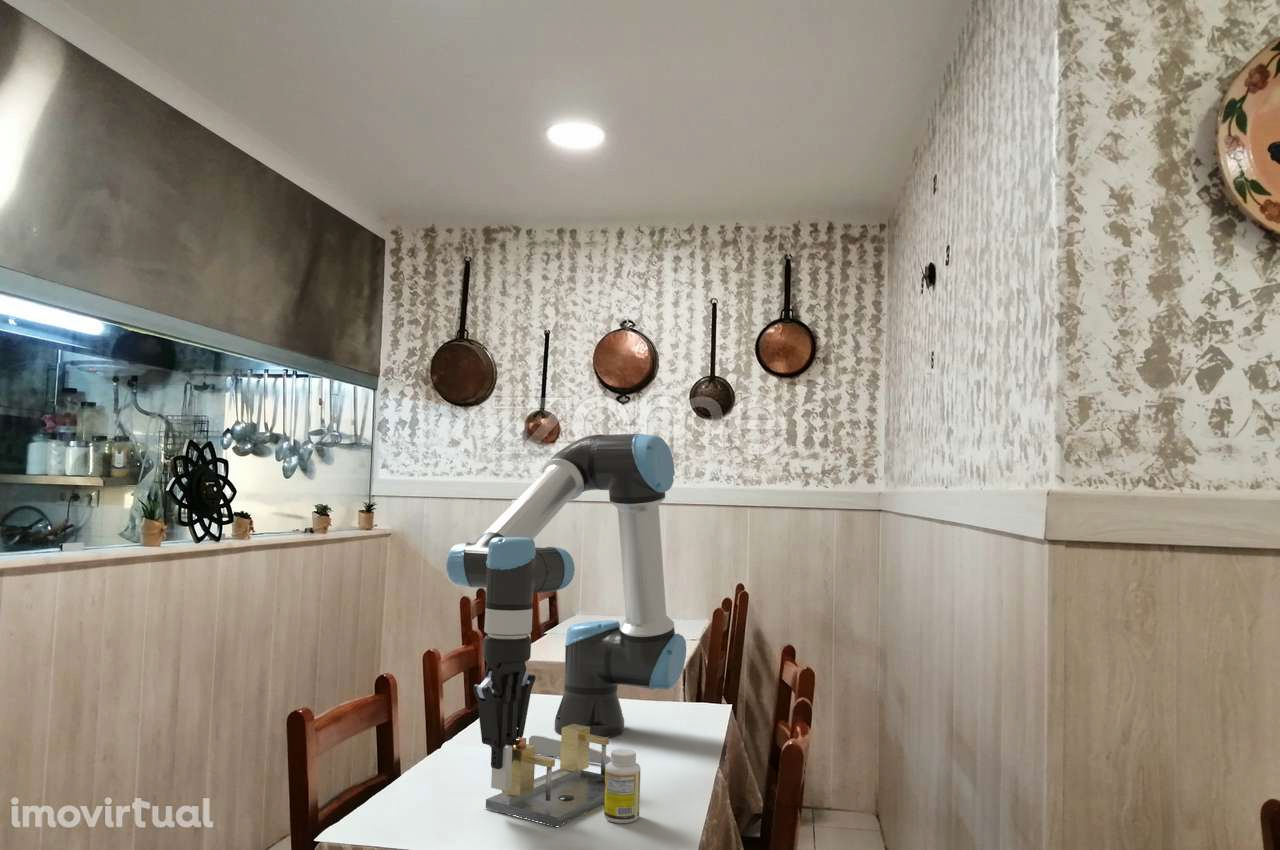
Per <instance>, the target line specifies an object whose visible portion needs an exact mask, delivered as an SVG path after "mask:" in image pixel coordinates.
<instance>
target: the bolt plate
mask: <svg viewBox="0 0 1280 850" xmlns="http://www.w3.org/2000/svg"><path fill="white" fill-rule="evenodd" d="M546 776H547V773H546V774H544V775H542V776H538V777H537V778H534V791H532V792H529V793H527V794H525V795H522V796H520V797H519V796H515V795H511V794H507V793H503V792H502V791H501V793H500V792H499V793H498V794H495V795H493V796H490V797H488V798H486V799H485V809H486V808H487V809H490V810H489V811H491V810H493V811H492V812H495V811H497V812H496V813H499V812H501V813H500V814H503V813H506V814H510V815H516V816H519V817H522V818H527V819H530V820H534V821H538V822H542V823H545V824H549V825H552V826H559V825H561V824H563V823H565V822H567V821H569V820H571V821H573V820H575V819H576V817H577V818H579V817H580V815H581V816H583V815H584V813H585V814H587V813H589V812H590V810H591V811H592V809H593V810H594V808H595V809H597V808H598V807H600V806H602V805H605V775H604V776H602V775H601V773H598V772H594V771H588V770H585V769H584V770H582V771H579V772H573V771H568V770H564V769H560V768H558V769H556V770H552V778H551V800H550V801H546ZM487 809H486V810H487ZM588 811H589V812H588ZM586 812H587V813H586ZM506 814H505V815H506ZM582 814H583V815H582ZM510 815H509V816H510ZM578 816H579V817H578ZM522 818H521V819H522ZM574 818H575V819H574ZM572 819H573V820H572ZM569 822H570V821H569ZM567 823H568V822H567ZM545 824H544V825H545ZM565 824H566V823H565ZM563 825H564V824H563ZM552 826H551V827H552ZM561 826H562V825H561ZM559 827H560V826H559Z"/></svg>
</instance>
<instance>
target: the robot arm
mask: <svg viewBox="0 0 1280 850" xmlns="http://www.w3.org/2000/svg"><path fill="white" fill-rule="evenodd" d="M674 477H675V462H674V457H673V453H672V451H671V449H670V446H669V445H668V443H666V441H665V440H664V439H663V437H661V436H658V435H655V434H643V433H628V434H627V433H625V434H624V433H623V434H622V433H619V434H592V435H587V436H585V437H582V438H580V439H577V440H575V441H573V442H571V443H570V444H568V445H567V446H565V447H563V448H562V449H560V451H557V453H555V454H553V456H552V457H551V458H549V460H547V462H545V464H544V465H543V467H542V470H541V475H540V476H539V477H538V478H537V479H536V480H535V481H534V482H533V483H532V484H530V486H529V487H528V488H527V489H525V491H524V492H523V493H522V494H521V495H520V496H519V497H518V498H516V500H515V501H514V502H513V503H512V504H511V505H510V506H509V507H508V508H507V509H506V510H505V511H504V512H503V513H502V514H501V515H500V516H499V517H498V518H497V519H496V520H495V521H494V522H493V523H492V524H491V525H490V526H489V527H488V528H487V530H485V531H484V532H483V533H482V534H481V536H479V537H478V539H477V540H476V541H475V542H473V543H472V542H470V541H466V542H463V543H462V542H460V543H456V544H455V545H453V546H452V547H451V549H449V552H448V554H447V558H446V562H445V563H446V564H445V565H446V566H445V567H446V573H447V576H448V578H449V580H450V581H451V582H452V583H453V584H456V585H458V586H465V587H469V588H483V589H485V593H486V594H485V609H484V610H485V614H484V628H483V629H484V630H483V631H484V633H486V635H485V636H484V638H483V642H482V644H483V645H482V658H483V660H484V661H485V662H486V664H487V665H486V669H485V672H484V680H483V681H481V683H480V684H477V683H476V684H474V685H473V687H472V691H473V693H474V695H475V698H476V701H477V703H476V704H477V710H478V719H479V728H480V735H481V736H480V737H481V743H482V744H483V745H487V746H489V747H490V746H491V747H490V749H491V750H490V754H491V755H490V767H491V783H490V788H491V789H495V790H499V791H502V790H503V791H506V790H508V789H511V768H512V762H513V748H514V745H519V743H520V740H516V739H518V738H523V736H524V733H525V728H526V724H527V723H526V721H527V716H528V710H529V706H530V700H531V694H532V689H533V686H534V684H535V682H536V675H534V674H530V673H528V672H527V665H526V662H527V661H530V659H531V655H532V654H531V649H532V638H531V637H530V636H529V635H530V634H531V633H532V632H533V600H534V595H535V594H541V593H555V592H557V591H560V590H563V589H565V588H566V587H568V586H569V585H570V584H571V582H572V581H573V579H574V576H575V571H576V570H575V562H574V559H573V557H572V556H571V554H570V553H569V552H568V551H567V550H565V549H564V548H562V547H556V546H545V547H536V544H535V539H536V537H537V536H538V535H539V534H540V533H541V531H542V530H543V529H544V528H545V527H546V526H547V525H548V524H549V523H550V522H551V521H552V520H553V518H555V516H556V515H557V514H558V513H559V512H560V511H561V510H562V508H563V507H564V506H565V505H566V504H567V503H568V502H569V501H572V500H573V501H574V500H575V499H577V498H579V497H581V495H582V494H583V493H584V492H588V491H594V490H595V491H597V490H598V491H608V493H609V503H611V505H613V506H614V507H615V508H616V509H617V515H618V531H619V544H620V556H621V557H620V558H621V571H622V583H623V596H624V597H623V598H624V599H623V600H624V611H625V612H624V613H625V619H623V621H622V622H621V623H620V622H619V621H618V620H595V621H586V622H580V623H576V624H575V623H574V624H572V625H570V626H569V627H568V628H567V631H566V637H565V644H564V648H565V651H564V652H565V653H564V656H565V657H564V681H563V682H564V687H563V695H562V697H561V701H560V704H559V707H558V710H557V711H556V715H555V717H554V731H555V732H556V733H558V734H560V735H561V732H562V728H563V727H566V726H568V725H571V724H577V725H582V726H588V727H590V734H591V735H596V736H602V737H607V738H611V737H612V738H613V737H617V736H619V735H621V734H623V733H624V732H625V718H624V714H623V710H622V707H621V703H620V699H619V696H618V686H619V685H621V686H627V687H635V688H643V689H649V690H650V691H651V690H652V691H654V690H661V691H662V690H663V691H668V690H671V689H672V688H673V687H675V685H677V684H678V682H679V680H680V678H681V676H682V673H683V670H684V667H685V663H686V659H687V658H686V657H687V641H686V639H685V637H684V635H682V634H680V633H676V631H675V630H676V629H675V622H674V621H673V620H672V619H671V617H669V616H668V615H667V605H666V593H665V592H666V590H665V589H666V588H665V575H664V563H663V548H662V546H663V545H662V535H661V533H662V531H661V519H660V505H661V503H663V501H664V500H665V499H666V492H668V491H669V490H670V489H672V486H673V484H674V480H675V479H674Z"/></svg>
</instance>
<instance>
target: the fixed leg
mask: <svg viewBox="0 0 1280 850" xmlns="http://www.w3.org/2000/svg"><path fill="white" fill-rule="evenodd" d="M560 735H561V736H560V737H561V739H560V740H561V758H560V759H559V760H560V761H559V762H560V764H559V766H560V767H559V769H564V770H568V771H573V772H579V771H582V770H584V771H585V770H586V769H588V768H589V763H590V762H589V748H590V743H591V744H596V745H601V751H600V752H601V764H600V774H601V775H602V776H604V775H605V769H606V755H607V745H609V743H610V737H602V736H596V735H591V734H590V727H588V726H582V725H577V724H571V725H568V726H566V727H563V728H562V732H561V734H560Z"/></svg>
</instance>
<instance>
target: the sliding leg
mask: <svg viewBox="0 0 1280 850" xmlns="http://www.w3.org/2000/svg"><path fill="white" fill-rule="evenodd" d="M516 740H520V743H519V745H514V748H513V762H512V768H511V789H508V790H506V791H503V790H501V793H502V792H503V793H507V794H511V795H515V796H519V797H520V796H522V795H525V794H527V793H529V792H532V791H534V779H535V770H536V768H535V767H536V766H535V765H537V766H541V767H546V774H547V776H546V801H550V800H551V778H552V772H553V767H555V766H556V758H552V757H547V756H542V755H537V754H535V747H536V746H533V745H528V744H529V743H527V738H526V737H522V738H518V739H516Z"/></svg>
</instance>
